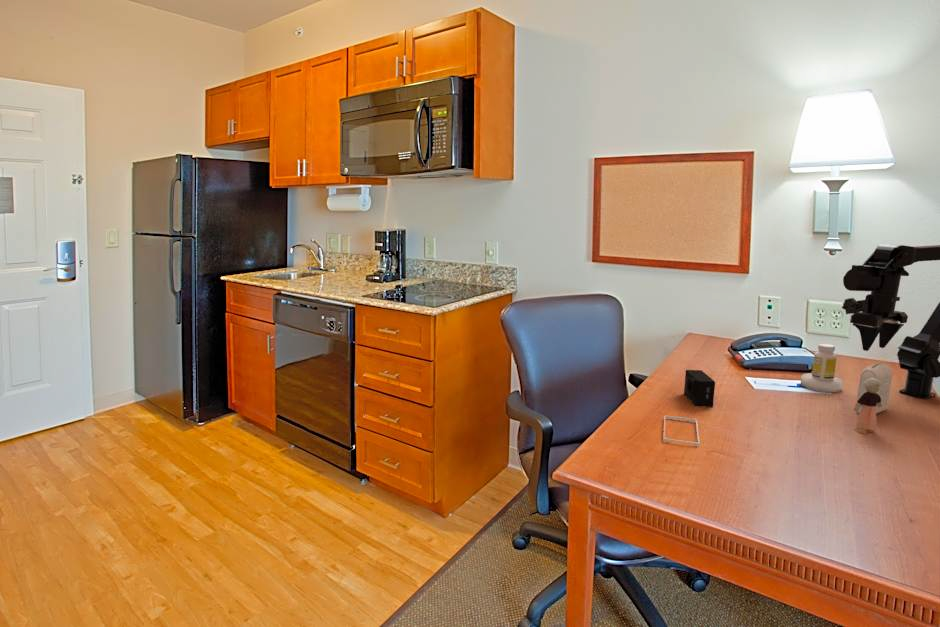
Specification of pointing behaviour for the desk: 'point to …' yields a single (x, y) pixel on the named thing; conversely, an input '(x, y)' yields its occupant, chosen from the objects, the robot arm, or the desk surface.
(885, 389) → the photo printer
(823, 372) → the supplement bottle
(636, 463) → the desk surface
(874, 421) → the grandmother figurine
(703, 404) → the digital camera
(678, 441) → the phone case
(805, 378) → the plinth
